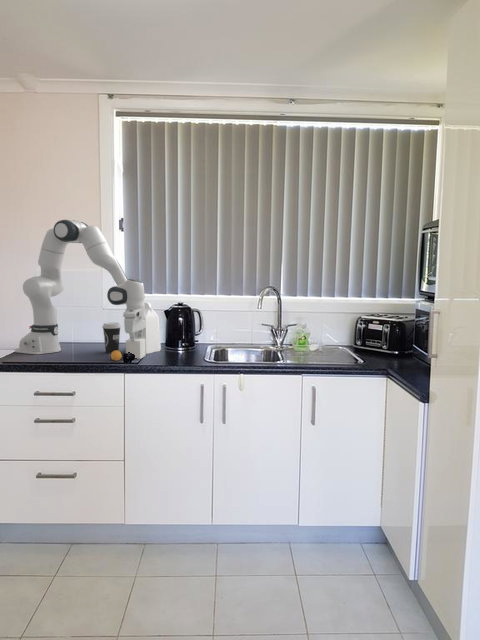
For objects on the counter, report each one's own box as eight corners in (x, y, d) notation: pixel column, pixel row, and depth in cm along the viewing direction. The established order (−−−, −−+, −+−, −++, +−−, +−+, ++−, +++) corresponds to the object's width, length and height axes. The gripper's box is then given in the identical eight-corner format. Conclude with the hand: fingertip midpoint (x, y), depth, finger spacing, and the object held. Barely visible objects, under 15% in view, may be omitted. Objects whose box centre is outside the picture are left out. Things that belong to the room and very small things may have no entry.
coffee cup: (110, 354, 234) (109, 325, 232) (98, 351, 240) (98, 323, 238) (125, 351, 242) (124, 323, 240) (113, 349, 247) (113, 321, 245)
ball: (109, 361, 217) (108, 351, 217) (113, 359, 222) (113, 349, 222) (119, 362, 217) (119, 351, 216) (123, 359, 222) (123, 349, 221)
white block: (126, 358, 225) (125, 340, 224) (131, 355, 232) (131, 338, 231) (140, 358, 224) (140, 341, 223) (145, 355, 231) (145, 338, 230)
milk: (160, 350, 246) (160, 302, 243) (146, 353, 236) (145, 303, 233) (144, 347, 252) (143, 301, 249) (129, 351, 242) (128, 302, 239)
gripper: (137, 309, 236) (138, 336, 238) (121, 314, 216) (122, 343, 218) (149, 309, 235) (149, 336, 237) (134, 314, 215) (135, 343, 217)
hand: (136, 339), depth 227 cm, fingers open, 8 cm apart
